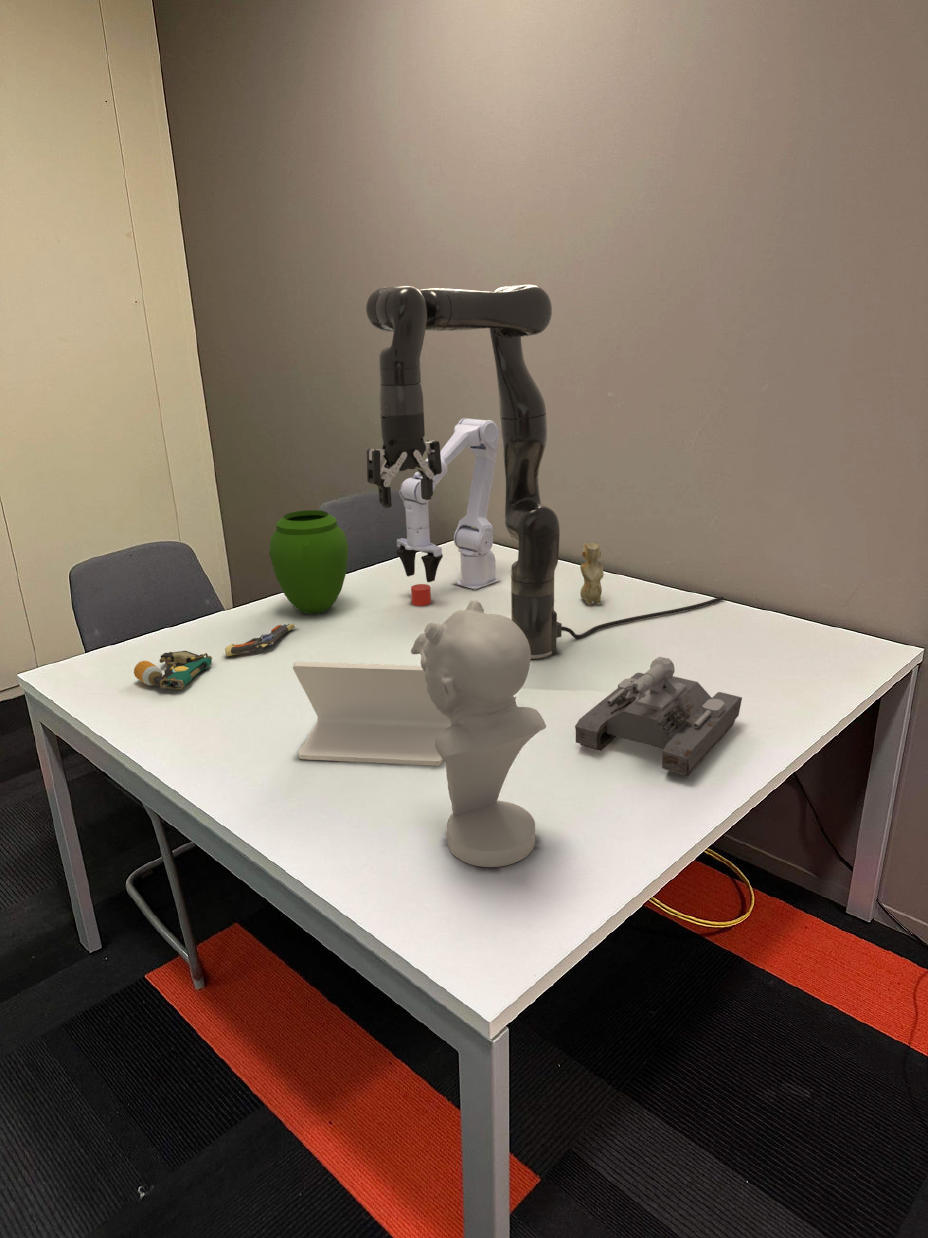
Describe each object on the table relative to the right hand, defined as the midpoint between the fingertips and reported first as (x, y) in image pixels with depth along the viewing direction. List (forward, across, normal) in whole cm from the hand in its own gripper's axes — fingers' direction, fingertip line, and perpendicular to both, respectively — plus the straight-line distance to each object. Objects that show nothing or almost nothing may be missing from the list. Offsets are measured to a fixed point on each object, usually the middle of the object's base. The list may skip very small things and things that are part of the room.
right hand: (406, 503), depth 153 cm
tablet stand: (+39, +13, +8) cm, 42 cm away
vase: (+39, -10, -61) cm, 73 cm away
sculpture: (+39, -66, -18) cm, 79 cm away
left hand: (+33, -34, -47) cm, 66 cm away
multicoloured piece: (+39, +32, -43) cm, 67 cm away
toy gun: (+39, +10, -48) cm, 63 cm away
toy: (+39, -24, +40) cm, 61 cm away
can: (+39, -33, -47) cm, 70 cm away
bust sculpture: (+39, +19, +41) cm, 60 cm away
